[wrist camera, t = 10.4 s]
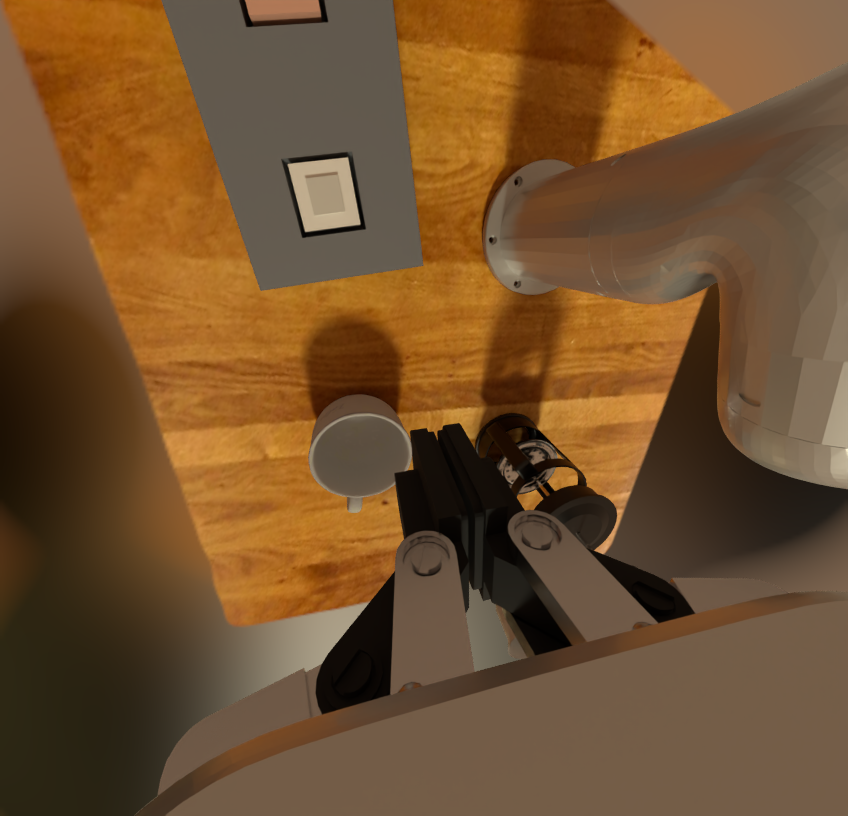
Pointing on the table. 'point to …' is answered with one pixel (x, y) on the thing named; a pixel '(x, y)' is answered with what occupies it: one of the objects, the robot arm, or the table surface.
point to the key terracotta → (283, 12)
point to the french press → (532, 469)
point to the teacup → (358, 448)
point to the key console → (305, 131)
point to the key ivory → (325, 194)
